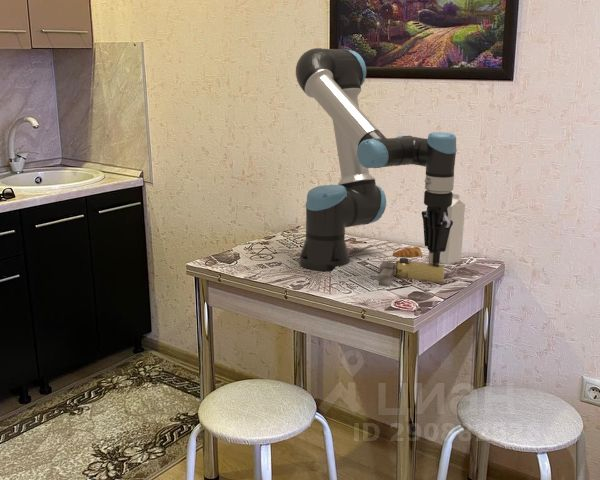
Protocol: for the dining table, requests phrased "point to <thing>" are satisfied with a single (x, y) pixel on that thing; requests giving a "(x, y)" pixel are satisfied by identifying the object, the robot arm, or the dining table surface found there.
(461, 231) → the milk
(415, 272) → the latch bar
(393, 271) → the board
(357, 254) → the dining table surface
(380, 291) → the dining table surface
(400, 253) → the pastry
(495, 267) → the dining table surface
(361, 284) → the dining table surface
